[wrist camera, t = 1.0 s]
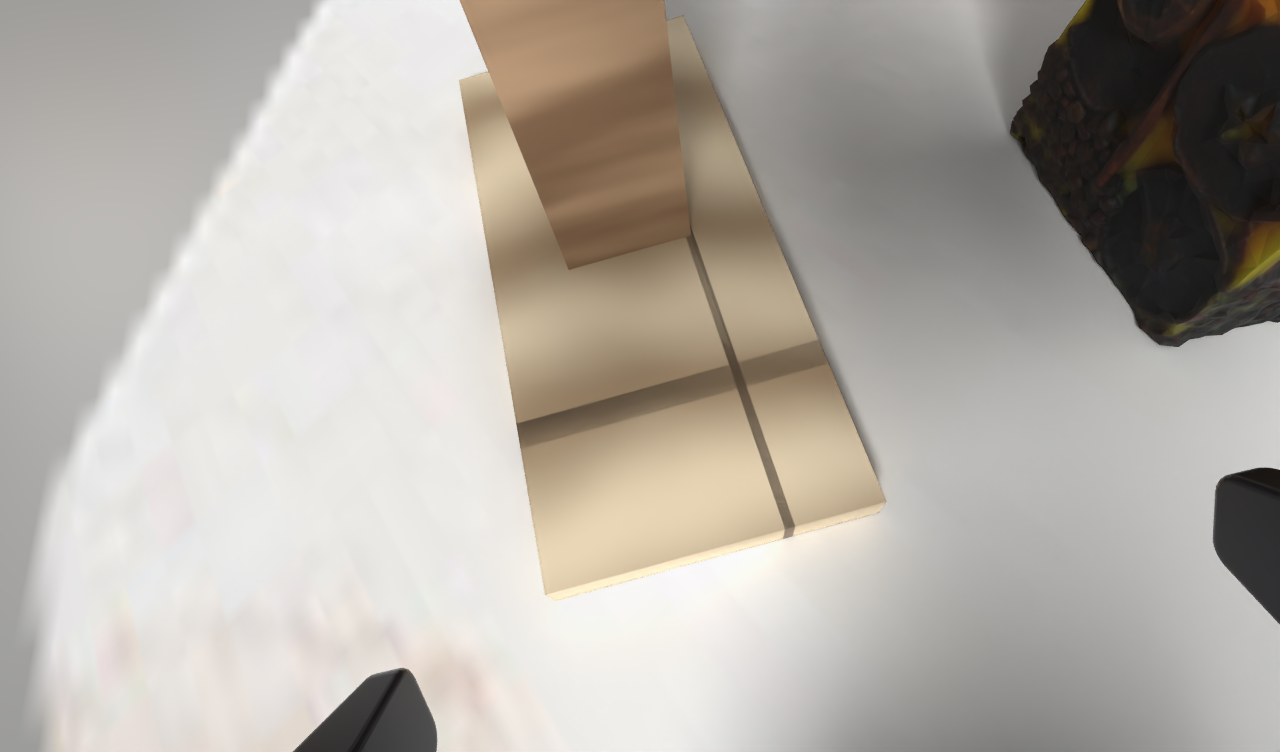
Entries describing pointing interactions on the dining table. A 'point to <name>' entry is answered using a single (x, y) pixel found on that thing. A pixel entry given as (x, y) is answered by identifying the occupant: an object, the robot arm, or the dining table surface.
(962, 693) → the dining table surface
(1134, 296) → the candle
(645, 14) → the tall wooden pillar
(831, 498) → the board
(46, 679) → the dining table surface
